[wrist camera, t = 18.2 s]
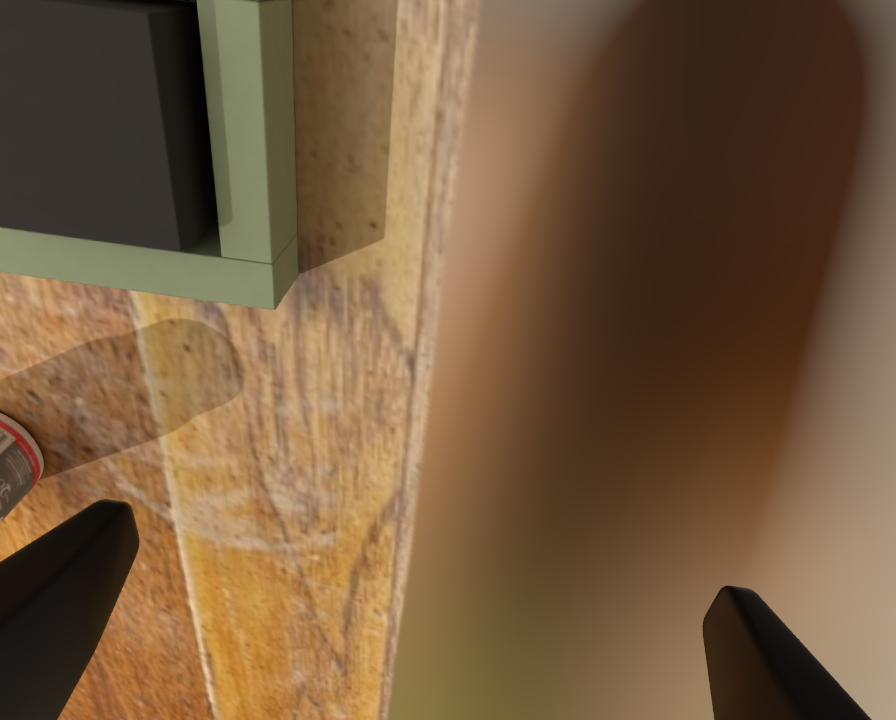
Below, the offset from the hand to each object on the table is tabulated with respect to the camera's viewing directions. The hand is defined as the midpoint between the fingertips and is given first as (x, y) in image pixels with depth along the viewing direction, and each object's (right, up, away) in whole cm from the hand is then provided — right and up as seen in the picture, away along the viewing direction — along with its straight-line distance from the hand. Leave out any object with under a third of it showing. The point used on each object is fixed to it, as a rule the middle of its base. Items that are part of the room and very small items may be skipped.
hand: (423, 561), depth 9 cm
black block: (-9, +11, +8) cm, 16 cm away
